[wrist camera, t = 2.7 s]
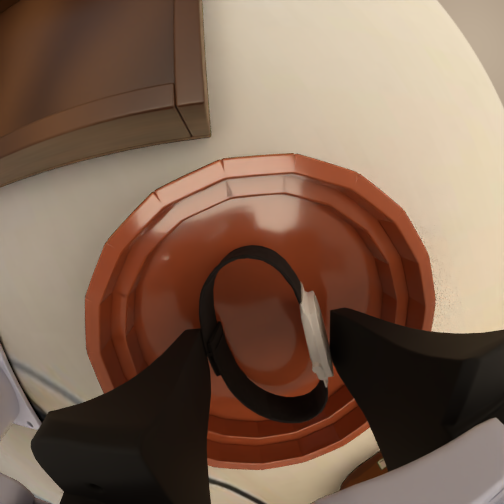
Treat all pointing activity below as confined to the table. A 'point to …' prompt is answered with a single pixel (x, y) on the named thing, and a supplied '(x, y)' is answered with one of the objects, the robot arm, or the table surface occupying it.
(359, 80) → the table surface
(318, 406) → the watch
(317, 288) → the bowl
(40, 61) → the holder
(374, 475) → the food container
